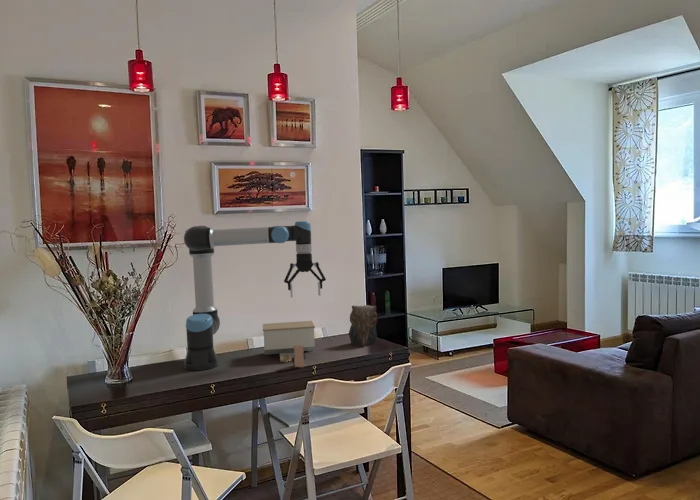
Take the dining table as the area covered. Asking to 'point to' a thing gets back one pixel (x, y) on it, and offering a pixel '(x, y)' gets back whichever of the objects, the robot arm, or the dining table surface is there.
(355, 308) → the owl
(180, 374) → the dining table surface
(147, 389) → the dining table surface
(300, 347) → the mallet
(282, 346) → the cabinet
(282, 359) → the tile
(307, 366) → the dining table surface
